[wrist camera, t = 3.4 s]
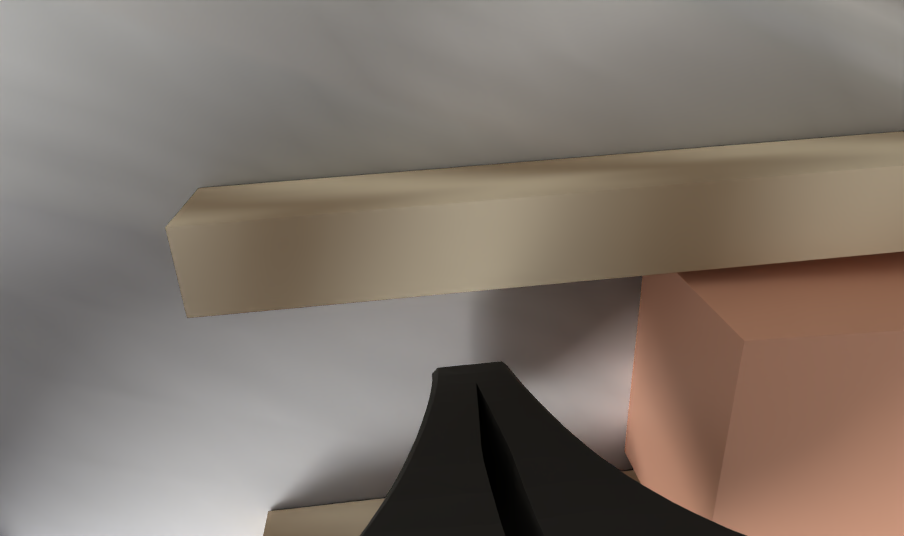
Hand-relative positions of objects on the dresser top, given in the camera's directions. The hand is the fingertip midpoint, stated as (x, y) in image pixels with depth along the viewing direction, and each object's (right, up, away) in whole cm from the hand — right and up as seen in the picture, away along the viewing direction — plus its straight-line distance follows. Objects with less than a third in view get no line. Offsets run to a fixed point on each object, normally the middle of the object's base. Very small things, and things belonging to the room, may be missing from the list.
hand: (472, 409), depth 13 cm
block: (+6, +1, +2) cm, 7 cm away
